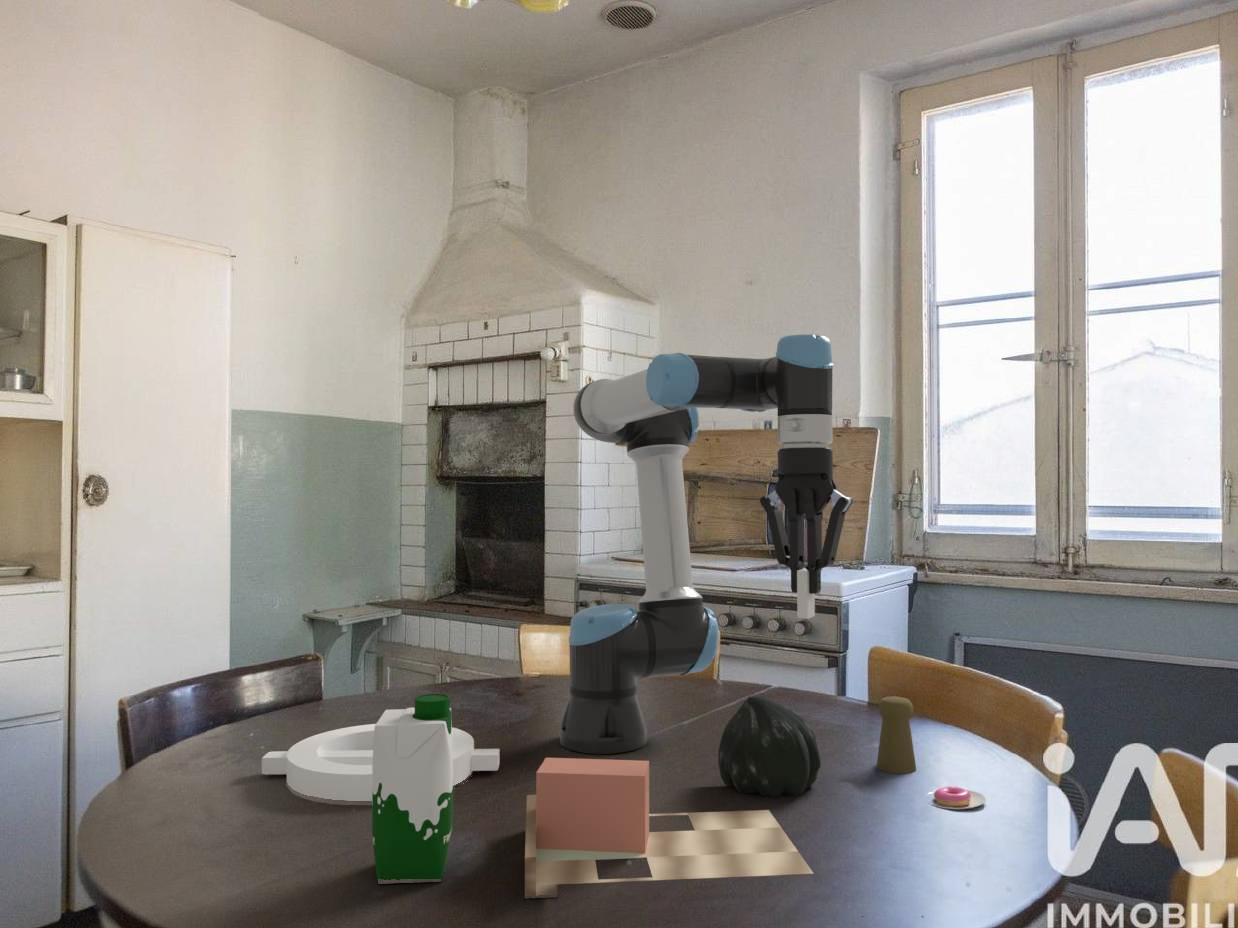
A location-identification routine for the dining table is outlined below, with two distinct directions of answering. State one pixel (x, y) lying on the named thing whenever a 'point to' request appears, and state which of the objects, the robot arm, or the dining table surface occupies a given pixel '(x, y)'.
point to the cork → (896, 736)
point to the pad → (579, 855)
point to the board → (682, 852)
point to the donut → (957, 798)
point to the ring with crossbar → (358, 762)
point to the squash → (768, 750)
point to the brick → (592, 805)
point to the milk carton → (413, 790)
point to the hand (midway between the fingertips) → (806, 616)
